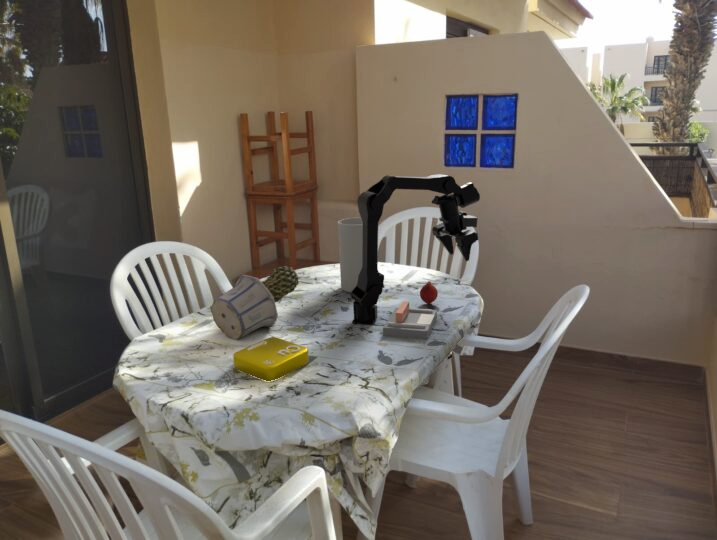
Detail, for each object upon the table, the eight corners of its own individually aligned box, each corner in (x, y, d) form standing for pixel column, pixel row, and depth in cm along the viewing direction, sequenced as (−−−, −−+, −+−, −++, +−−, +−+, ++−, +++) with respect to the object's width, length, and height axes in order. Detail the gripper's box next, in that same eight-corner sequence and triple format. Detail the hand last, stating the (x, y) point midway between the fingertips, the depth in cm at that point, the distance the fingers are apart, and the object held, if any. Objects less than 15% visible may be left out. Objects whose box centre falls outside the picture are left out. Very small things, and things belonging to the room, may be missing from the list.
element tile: (273, 349, 161) (272, 333, 159) (312, 363, 152) (311, 346, 150) (231, 369, 150) (229, 352, 148) (270, 385, 141) (268, 367, 139)
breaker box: (383, 335, 166) (382, 325, 165) (396, 314, 182) (395, 305, 181) (427, 339, 163) (427, 328, 162) (436, 317, 178) (436, 307, 177)
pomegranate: (431, 308, 186) (431, 285, 184) (416, 305, 189) (416, 282, 187) (440, 303, 190) (440, 280, 188) (425, 300, 194) (425, 277, 192)
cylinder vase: (335, 286, 212) (332, 220, 205) (366, 281, 217) (363, 216, 210) (349, 296, 201) (346, 226, 194) (381, 290, 206) (379, 222, 199)
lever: (395, 322, 168) (395, 312, 167) (402, 310, 177) (402, 301, 176) (402, 322, 167) (402, 313, 166) (409, 310, 176) (409, 301, 175)
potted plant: (236, 301, 156) (307, 252, 176) (196, 293, 167) (267, 247, 187) (255, 353, 164) (321, 300, 183) (216, 342, 175) (282, 293, 194)
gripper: (488, 208, 175) (496, 254, 181) (455, 200, 191) (464, 242, 197) (457, 221, 172) (467, 268, 178) (426, 211, 188) (436, 254, 194)
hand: (459, 257), depth 187 cm, fingers open, 9 cm apart
